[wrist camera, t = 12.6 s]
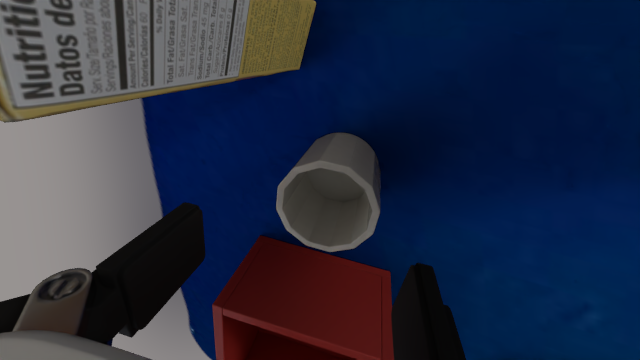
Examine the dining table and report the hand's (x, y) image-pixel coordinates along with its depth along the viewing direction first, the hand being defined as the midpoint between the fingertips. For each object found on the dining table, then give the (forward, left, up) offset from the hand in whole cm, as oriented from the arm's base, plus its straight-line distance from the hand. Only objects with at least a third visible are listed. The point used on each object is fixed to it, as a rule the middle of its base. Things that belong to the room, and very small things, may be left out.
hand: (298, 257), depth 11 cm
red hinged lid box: (+16, 0, -10) cm, 18 cm away
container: (0, 0, -10) cm, 10 cm away
